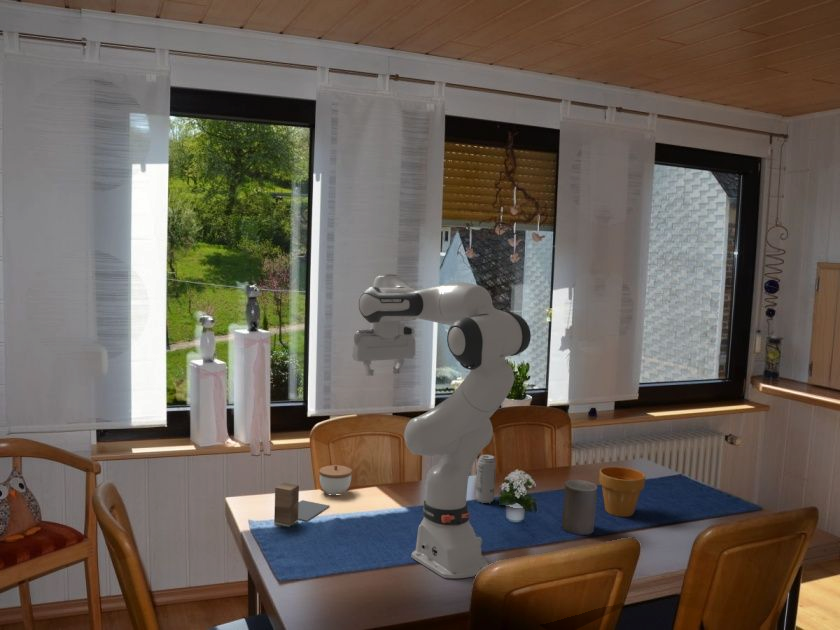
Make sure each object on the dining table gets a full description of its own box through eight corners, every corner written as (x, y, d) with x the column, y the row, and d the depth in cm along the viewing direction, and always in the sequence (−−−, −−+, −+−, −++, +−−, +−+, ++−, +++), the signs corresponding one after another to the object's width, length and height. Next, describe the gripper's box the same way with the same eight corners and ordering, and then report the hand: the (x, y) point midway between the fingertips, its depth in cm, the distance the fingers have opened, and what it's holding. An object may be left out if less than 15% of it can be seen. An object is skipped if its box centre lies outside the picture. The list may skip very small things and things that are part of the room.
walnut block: (288, 527, 214) (290, 490, 213) (274, 524, 216) (275, 487, 215) (297, 521, 219) (299, 485, 218) (283, 518, 221) (284, 482, 220)
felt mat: (306, 521, 219) (306, 520, 219) (278, 515, 223) (278, 514, 223) (329, 506, 232) (329, 505, 232) (302, 501, 236) (302, 500, 236)
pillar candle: (554, 526, 224) (558, 478, 222) (575, 519, 230) (578, 473, 229) (580, 537, 217) (584, 488, 215) (600, 530, 223) (604, 482, 221)
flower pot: (641, 523, 230) (644, 482, 229) (594, 515, 235) (597, 476, 233) (643, 508, 244) (646, 470, 242) (599, 501, 248) (601, 464, 247)
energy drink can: (494, 504, 241) (497, 459, 239) (475, 503, 241) (478, 458, 239) (493, 498, 247) (495, 454, 245) (475, 497, 247) (477, 453, 245)
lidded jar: (356, 491, 248) (358, 463, 247) (340, 500, 238) (341, 472, 237) (329, 485, 252) (330, 458, 251) (312, 494, 242) (313, 466, 242)
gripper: (360, 331, 211) (358, 378, 213) (419, 329, 223) (417, 374, 224) (349, 328, 217) (347, 374, 218) (407, 326, 228) (405, 370, 230)
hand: (383, 374), depth 221 cm, fingers open, 8 cm apart
